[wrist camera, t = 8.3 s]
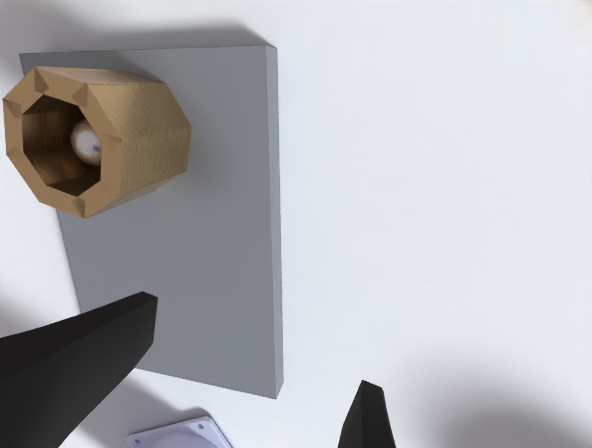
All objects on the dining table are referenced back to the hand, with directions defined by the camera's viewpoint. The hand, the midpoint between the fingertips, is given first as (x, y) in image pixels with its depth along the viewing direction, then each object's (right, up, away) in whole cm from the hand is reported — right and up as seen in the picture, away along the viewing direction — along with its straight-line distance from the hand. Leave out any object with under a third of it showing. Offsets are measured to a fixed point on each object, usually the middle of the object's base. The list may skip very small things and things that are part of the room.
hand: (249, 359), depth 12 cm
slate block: (-6, +4, +11) cm, 13 cm away
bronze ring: (-7, +9, +7) cm, 13 cm away
